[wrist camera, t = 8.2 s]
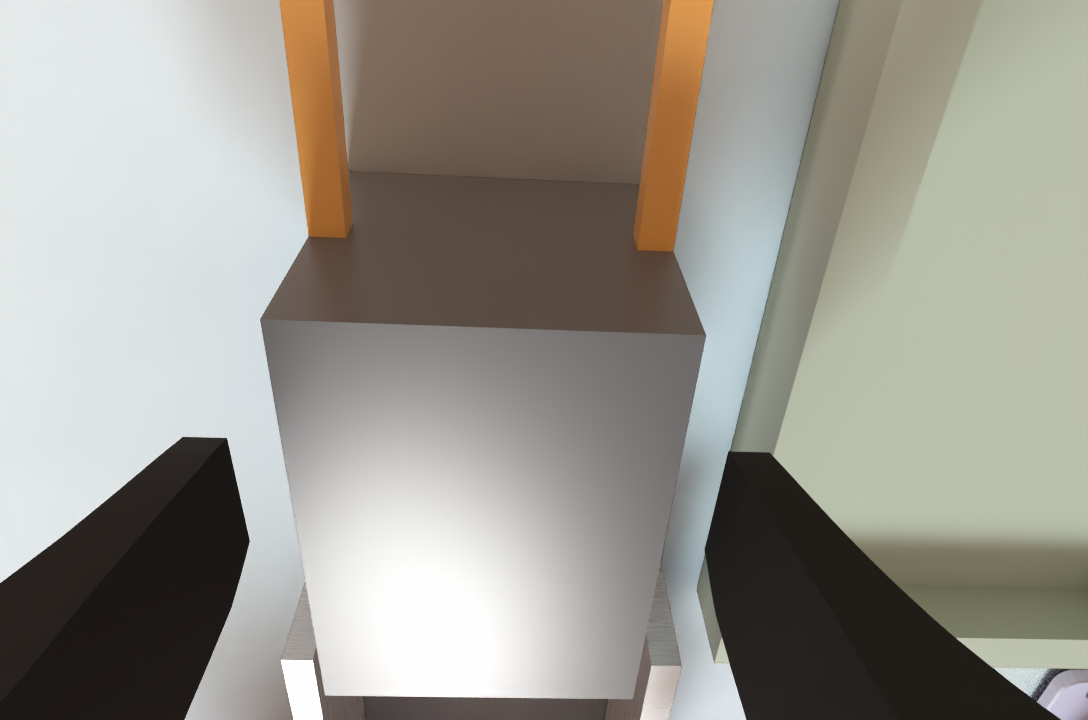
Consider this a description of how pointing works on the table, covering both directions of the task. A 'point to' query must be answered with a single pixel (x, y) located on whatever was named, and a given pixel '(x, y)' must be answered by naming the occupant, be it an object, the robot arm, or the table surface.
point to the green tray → (942, 317)
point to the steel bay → (638, 716)
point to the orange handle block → (483, 400)
